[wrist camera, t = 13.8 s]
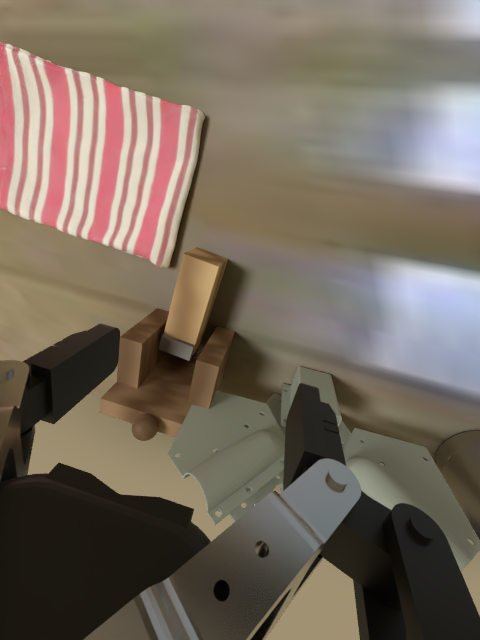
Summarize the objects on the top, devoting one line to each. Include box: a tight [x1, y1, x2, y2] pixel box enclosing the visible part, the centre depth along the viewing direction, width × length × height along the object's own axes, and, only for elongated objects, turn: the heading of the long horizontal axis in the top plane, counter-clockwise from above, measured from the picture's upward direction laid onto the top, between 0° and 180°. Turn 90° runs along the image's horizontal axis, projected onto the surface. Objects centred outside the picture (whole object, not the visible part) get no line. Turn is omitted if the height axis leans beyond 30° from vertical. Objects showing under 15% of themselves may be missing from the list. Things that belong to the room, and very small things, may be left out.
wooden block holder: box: [100, 309, 235, 441], centre depth 33 cm, size 11×8×14 cm
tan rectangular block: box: [159, 248, 228, 361], centre depth 34 cm, size 4×12×6 cm, turn 161°
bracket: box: [167, 367, 480, 571], centre depth 29 cm, size 28×7×20 cm, turn 79°
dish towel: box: [0, 43, 205, 268], centre depth 31 cm, size 17×23×4 cm
